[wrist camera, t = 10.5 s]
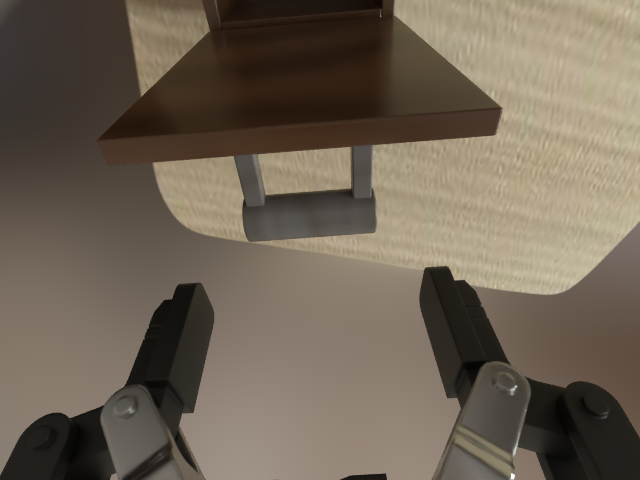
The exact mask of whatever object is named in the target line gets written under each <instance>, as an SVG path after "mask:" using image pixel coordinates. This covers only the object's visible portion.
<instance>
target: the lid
mask: <svg viewBox="0 0 640 480" xmlns="http://www.w3.org/2000/svg"><path fill="white" fill-rule="evenodd" d="M501 114H502V107H501V106H499V105H498V104H497V103H496V102H495V101H494V100H493V99H491V98H490V97H489V96H488V95H487V94H486V93H484V92H483V91H482V90H481V89H480V88H479V87H477V86H476V85H475V84H474V83H473V82H472V81H470V80H469V79H468V78H467V77H466V76H465V75H463V74H462V73H461V72H460V71H459V70H458V69H457V68H455V67H454V66H453V65H452V64H451V63H450V62H448V61H447V60H446V59H445V58H444V57H443V56H441V55H440V54H439V53H438V52H437V51H436V50H434V49H433V48H432V47H431V46H430V45H429V44H427V43H426V42H425V41H424V40H423V39H422V38H421V37H419V36H418V35H417V34H416V33H415V32H414V31H412V30H411V29H410V28H409V27H408V26H407V25H405V24H404V23H403V22H402V21H401V20H400V19H398V18H397V17H396V16H386V17H374V18H363V19H351V20H340V21H328V22H317V23H305V24H294V25H282V26H271V27H259V28H248V29H236V30H225V31H213V32H208V33H207V34H206V35H205V36H204V37H203V38H202V39H201V40H200V41H199V42H198V43H197V44H196V45H195V46H194V47H193V48H192V49H191V50H190V51H189V52H187V53H186V54H185V55H184V56H183V57H182V58H181V59H180V60H179V61H178V62H177V63H176V64H175V65H174V66H173V67H172V68H171V69H170V70H169V71H168V72H167V73H166V74H165V75H164V76H163V77H162V78H161V79H160V80H159V81H157V82H156V83H155V84H154V85H153V86H152V87H151V88H150V89H149V90H148V91H147V92H146V93H145V94H144V95H143V96H142V97H141V98H140V99H139V100H138V101H137V102H136V103H135V104H134V105H133V106H132V107H131V108H130V109H129V110H127V111H126V112H125V113H124V114H123V115H122V116H121V117H120V118H119V119H118V120H117V121H116V122H115V123H114V124H113V125H112V126H111V127H110V128H109V129H108V130H107V131H106V132H105V133H104V134H103V135H102V136H101V137H100V138H99V139H98V140H97V141H96V143H97V146H98V147H99V149H100V151H101V153H102V155H103V157H104V159H105V161H106V163H107V164H108V165H109V166H113V165H126V164H139V163H151V162H164V161H177V160H189V159H202V158H215V157H227V156H234V159H235V163H236V167H237V171H238V175H239V179H240V183H241V187H242V191H243V195H244V201H243V208H242V216H243V226H244V231H245V234H246V237H247V239H248V241H250V242H256V241H270V240H283V239H297V238H310V237H324V236H337V235H351V234H365V233H374V232H375V231H376V227H377V207H376V198H375V193H374V190H373V188H372V160H373V145H379V144H392V143H404V142H417V141H430V140H442V139H455V138H468V137H480V136H493V135H496V133H497V129H498V126H499V122H500V118H501ZM341 147H351V189H339V190H326V191H313V192H299V193H286V194H273V195H266V194H265V190H264V185H263V180H262V175H261V170H260V165H259V160H258V155H257V154H265V153H278V152H290V151H303V150H316V149H328V148H341Z"/></svg>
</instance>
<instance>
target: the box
mask: <svg viewBox="0 0 640 480" xmlns="http://www.w3.org/2000/svg"><path fill="white" fill-rule="evenodd" d="M203 4H204V8H205V12H206V17H207V21H208V25H209V29H210V32H213V31H225V30H236V29H248V28H259V27H271V26H282V25H294V24H305V23H317V22H328V21H340V20H351V19H363V18H374V17H386V16H394V10H395V0H203Z"/></svg>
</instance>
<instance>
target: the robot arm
mask: <svg viewBox="0 0 640 480" xmlns="http://www.w3.org/2000/svg"><path fill="white" fill-rule="evenodd" d="M420 308H421V312H422V316H423V319H424V322H425V326H426V329H427V332H428V336H429V339H430V342H431V345H432V349H433V352H434V356H435V359H436V362H437V366H438V368H439V372H440V376H441V379H442V382H443V385H444V389H445V392H446V396H447V398H458V401H459V404H460V407H461V410H460V412H459V415H458V417H457V419H456V422H455V424H454V427H453V429H452V432H451V434H450V437H449V439H448V442H447V444H446V447H445V449H444V451H443V454H442V456H441V459H440V461H439V464H438V466H437V468H436V470H435V473H434V475H433V477H432V480H513V477H514V471H515V470H514V469H515V467H514V465H513V459H514V455H515V451H516V448H517V447H520V448H524V449H527V450H530V451H534V452H536V455H537V457H538V460H539V463H540V465H541V468H542V470H543V473H544V476H545V478H546V480H640V438H639V436H638V434H637V433H636V431H635V429H634V428H633V426H632V424H631V423H630V421H629V419H628V417H627V416H626V414H625V412H624V411H623V409H622V407H621V406H620V404H619V403H618V401H617V400H616V399H615V398H614V397H613V396H612V395H611V394H610V393H608V392H607V391H606V390H604V389H603V388H601V387H599V386H597V385H595V384H592V383H589V382H583V381H579V382H573V383H571V384H569V385H568V386H567V387H566V388H563V387H559V386H555V385H550V384H546V383H542V382H538V381H535V380H532V379H530V378H527V377H526V376H524V375H523V374H522V373H521V372H520V371H519V370H518V369H516V368H515V367H513V366H512V365H511V364H510V363H509V361H508V360H507V358H506V356H505V354H504V352H503V350H502V347H501V345H500V343H499V341H498V339H497V337H496V334H495V332H494V330H493V328H492V326H491V324H490V321H489V319H488V318H487V316H486V313H485V311H484V308H483V307H482V306H481V302H480V300H479V298H478V295H477V293H476V291H475V290H474V289H473V288H472V287H471V286H470V285H469V284H468V283H467V282H466V281H465V280H457V281H454V278H453V276H452V273H451V271H450V269H449V267H447V266H440V267H426V268H425V270H424V274H423V279H422V285H421V290H420ZM213 324H214V311H213V307H212V305H211V303H210V301H209V299H208V296H207V294H206V292H205V289H204V287H203V285H202V284H201V283H187V284H179V285H178V286H177V287H176V290H175V292H174V295H173V298H172V300H164V301H163V302H162V303H161V305H160V306H159V307H158V308H157V309H156V311H155V312H154V314H153V316H152V319H151V321H150V324H149V329H147V332H146V334H145V339H144V340H143V342H142V345H141V347H140V350H139V352H138V355H137V357H136V360H135V363H134V365H133V368H132V370H131V373H130V376H129V378H128V380H127V383H126V385H125V386H124V387H123V388H121V389H120V390H118V391H117V392H115V393H114V394H113V395H112V396H111V397H110V398H109V399H108V401H107V402H106V403H105V405H103V406H101V407H99V408H96V409H94V410H91V411H88V412H86V413H83V414H80V415H78V416H75V417H73V418H68V416H66V415H65V414H62V413H51V414H48V415H45V416H43V417H41V418H39V419H38V420H36V421H35V422H34V423H32V424H31V425H30V426H29V427H28V428H27V429H26V430H25V431H24V432H23V434H22V435H21V436H20V438H19V440H18V442H17V443H16V446H15V448H14V449H13V451H12V454H11V455H10V457H9V460H8V461H7V463H6V465H5V467H4V469H3V471H2V473H1V475H0V480H110V477H111V475H112V474H114V473H117V477H118V480H206V479H205V477H204V476H203V474H202V472H201V470H200V468H199V466H198V464H197V462H196V459H195V458H194V455H193V453H192V451H191V449H190V447H189V445H188V443H187V441H186V439H185V436H184V434H183V432H182V430H181V428H180V427H179V423H180V419H181V415H182V413H193V412H194V408H195V403H196V399H197V395H198V390H199V386H200V381H201V377H202V373H203V368H204V364H205V360H206V355H207V350H208V346H209V342H210V337H211V333H212V329H213ZM341 480H387V477H386V474H370V475H352V476H348V477H346V478H343V479H341Z"/></svg>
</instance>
